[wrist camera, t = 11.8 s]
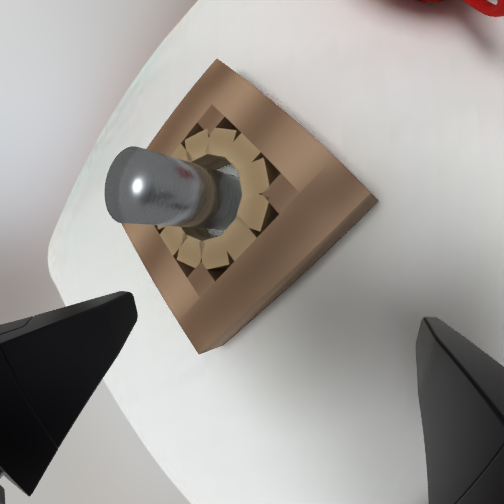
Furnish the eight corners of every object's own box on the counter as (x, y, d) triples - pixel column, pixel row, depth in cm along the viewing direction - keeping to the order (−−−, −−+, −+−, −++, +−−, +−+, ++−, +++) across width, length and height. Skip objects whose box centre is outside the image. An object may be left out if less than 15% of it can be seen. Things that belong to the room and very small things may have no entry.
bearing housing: (378, 200, 19) (370, 192, 17) (222, 345, 25) (198, 354, 23) (237, 73, 25) (216, 58, 22) (135, 206, 31) (111, 203, 28)
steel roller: (255, 225, 24) (153, 215, 15) (210, 233, 26) (105, 228, 17) (249, 170, 24) (150, 135, 15) (205, 182, 26) (104, 159, 18)
